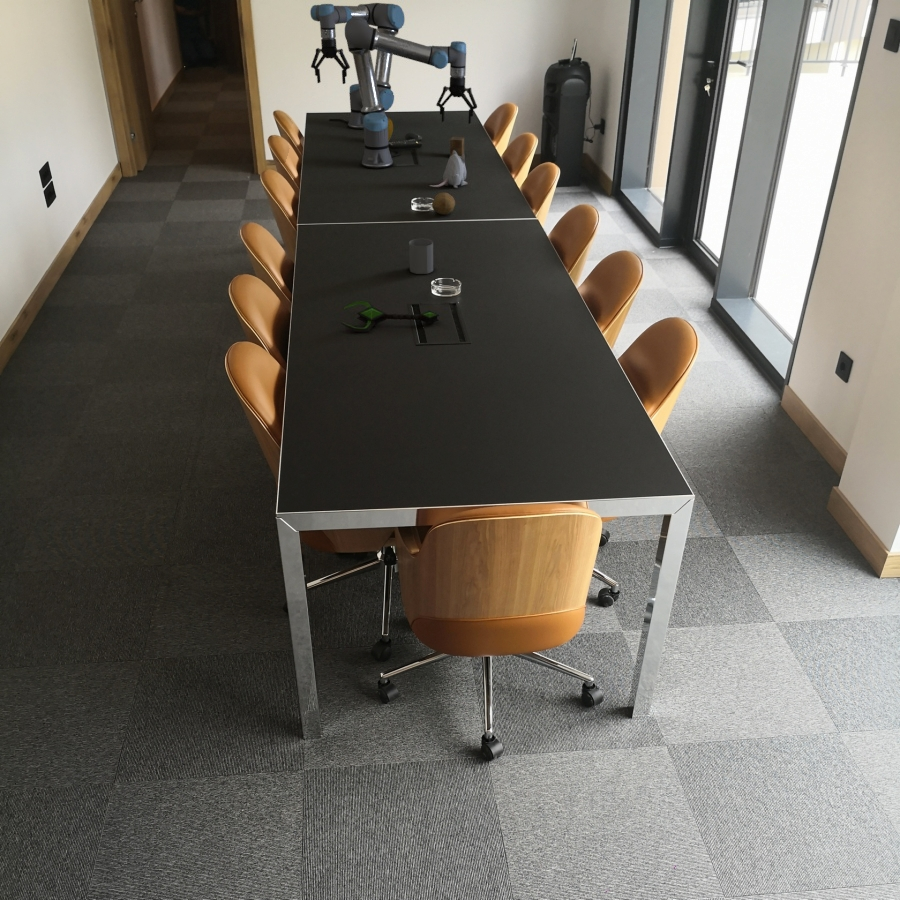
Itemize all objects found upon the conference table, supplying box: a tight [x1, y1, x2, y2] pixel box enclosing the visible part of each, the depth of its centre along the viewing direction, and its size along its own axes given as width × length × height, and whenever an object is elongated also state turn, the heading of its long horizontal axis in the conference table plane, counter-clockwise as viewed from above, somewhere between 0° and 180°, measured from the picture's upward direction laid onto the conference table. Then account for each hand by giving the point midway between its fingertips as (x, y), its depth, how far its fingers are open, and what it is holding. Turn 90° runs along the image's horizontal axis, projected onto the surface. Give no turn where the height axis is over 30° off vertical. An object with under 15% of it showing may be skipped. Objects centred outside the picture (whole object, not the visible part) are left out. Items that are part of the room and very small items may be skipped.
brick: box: [449, 136, 465, 158], centre depth 440 cm, size 6×7×9 cm
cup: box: [408, 237, 434, 275], centre depth 305 cm, size 8×8×10 cm
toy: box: [428, 150, 468, 189], centre depth 390 cm, size 9×24×15 cm, turn 137°
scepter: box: [341, 300, 440, 333], centre depth 268 cm, size 6×13×30 cm
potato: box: [431, 192, 456, 216], centre depth 360 cm, size 10×14×8 cm
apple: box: [387, 117, 394, 142], centre depth 463 cm, size 11×11×13 cm
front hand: (456, 122), depth 433 cm, fingers open, 13 cm apart
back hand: (331, 83), depth 451 cm, fingers open, 13 cm apart
